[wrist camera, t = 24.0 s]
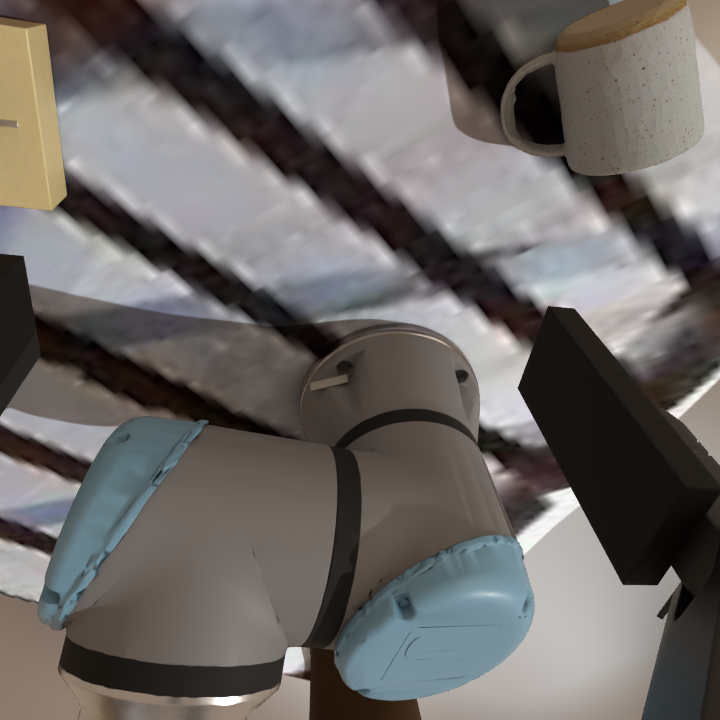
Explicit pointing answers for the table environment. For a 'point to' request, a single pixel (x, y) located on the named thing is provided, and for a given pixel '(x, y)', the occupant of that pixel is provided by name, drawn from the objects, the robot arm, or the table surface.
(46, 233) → the table surface
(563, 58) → the ceramic mug
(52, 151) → the tan box
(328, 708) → the olive oil
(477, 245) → the table surface
